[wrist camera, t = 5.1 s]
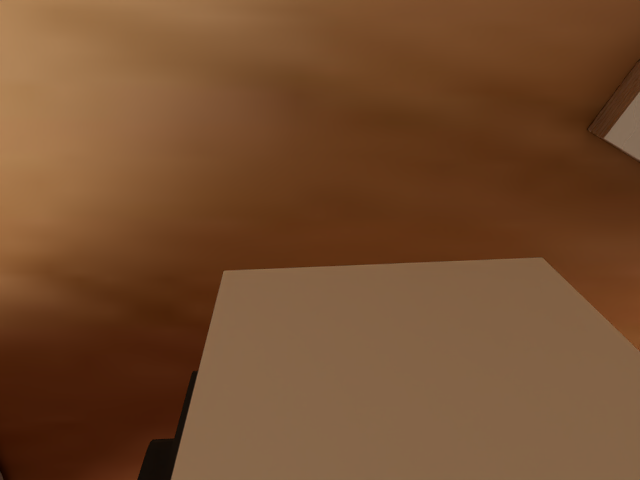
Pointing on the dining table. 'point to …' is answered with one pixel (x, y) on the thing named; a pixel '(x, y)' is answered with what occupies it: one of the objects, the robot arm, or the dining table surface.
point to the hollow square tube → (411, 377)
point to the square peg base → (622, 117)
